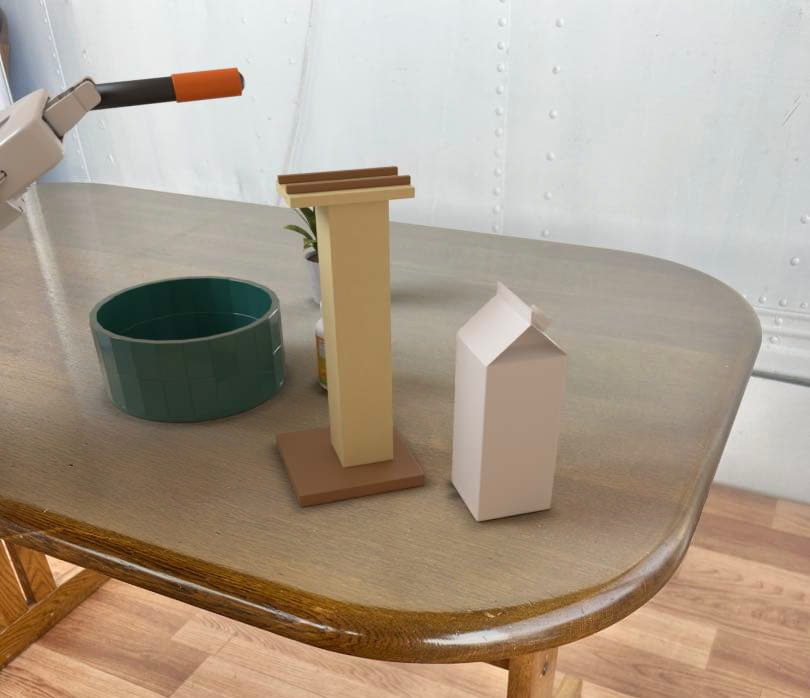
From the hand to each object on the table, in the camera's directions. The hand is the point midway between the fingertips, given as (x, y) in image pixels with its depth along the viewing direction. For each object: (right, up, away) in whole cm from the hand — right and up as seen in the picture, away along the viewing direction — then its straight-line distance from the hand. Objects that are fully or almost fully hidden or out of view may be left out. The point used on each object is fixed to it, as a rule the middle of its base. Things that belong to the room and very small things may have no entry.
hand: (96, 86), depth 72 cm
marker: (+5, 0, +2) cm, 6 cm away
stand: (+22, -33, +8) cm, 40 cm away
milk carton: (+36, -36, +3) cm, 52 cm away
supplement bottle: (+20, -22, +23) cm, 38 cm away
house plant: (+17, -7, +44) cm, 48 cm away
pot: (+3, -22, +24) cm, 32 cm away
